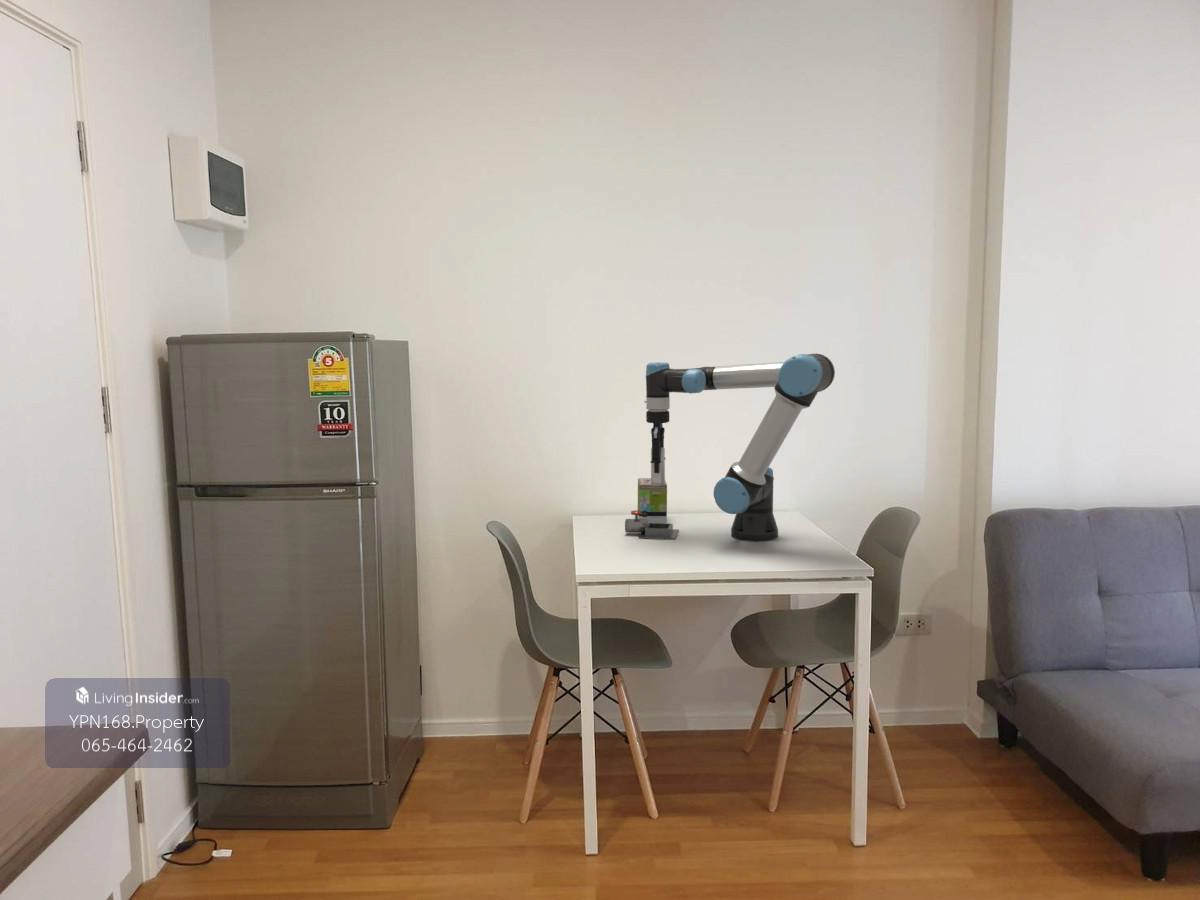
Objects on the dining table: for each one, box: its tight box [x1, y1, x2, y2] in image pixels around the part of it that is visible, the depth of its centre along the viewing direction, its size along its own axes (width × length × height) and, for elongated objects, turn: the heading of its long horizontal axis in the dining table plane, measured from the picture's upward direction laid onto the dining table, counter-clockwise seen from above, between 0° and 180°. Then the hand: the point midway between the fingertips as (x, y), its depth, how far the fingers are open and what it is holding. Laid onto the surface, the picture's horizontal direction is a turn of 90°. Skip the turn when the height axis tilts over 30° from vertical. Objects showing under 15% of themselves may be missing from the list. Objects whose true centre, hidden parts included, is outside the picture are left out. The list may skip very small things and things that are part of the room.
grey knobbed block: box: [624, 509, 680, 541], centre depth 282 cm, size 17×12×8 cm
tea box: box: [637, 477, 668, 524], centre depth 302 cm, size 15×10×15 cm
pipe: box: [650, 447, 666, 486], centre depth 279 cm, size 4×4×12 cm
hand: (658, 481), depth 280 cm, fingers closed on pipe, 4 cm apart
